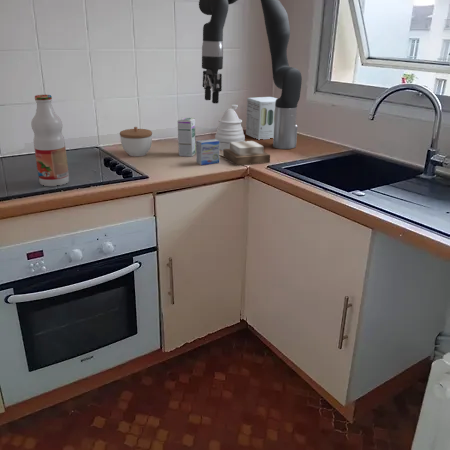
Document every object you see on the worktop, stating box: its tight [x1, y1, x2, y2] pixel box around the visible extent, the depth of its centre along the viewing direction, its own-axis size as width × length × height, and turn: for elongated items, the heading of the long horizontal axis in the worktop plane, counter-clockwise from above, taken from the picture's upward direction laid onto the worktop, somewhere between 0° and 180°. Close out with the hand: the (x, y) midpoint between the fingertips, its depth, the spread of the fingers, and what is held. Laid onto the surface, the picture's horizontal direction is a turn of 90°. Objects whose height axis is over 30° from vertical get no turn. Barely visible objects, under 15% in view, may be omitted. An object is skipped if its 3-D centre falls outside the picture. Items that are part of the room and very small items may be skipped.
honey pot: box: [214, 104, 246, 152], centre depth 198 cm, size 13×13×18 cm
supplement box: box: [245, 96, 279, 141], centre depth 220 cm, size 13×13×18 cm
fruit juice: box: [31, 94, 70, 187], centre depth 148 cm, size 9×9×28 cm
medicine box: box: [195, 138, 220, 166], centre depth 177 cm, size 8×4×9 cm, turn 117°
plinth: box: [222, 140, 271, 166], centre depth 183 cm, size 14×14×6 cm
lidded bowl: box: [119, 126, 153, 157], centre depth 187 cm, size 13×13×11 cm
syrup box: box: [177, 117, 197, 158], centre depth 186 cm, size 6×6×14 cm
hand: (211, 101), depth 172 cm, fingers open, 8 cm apart
